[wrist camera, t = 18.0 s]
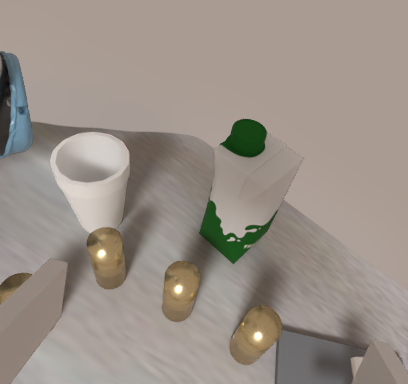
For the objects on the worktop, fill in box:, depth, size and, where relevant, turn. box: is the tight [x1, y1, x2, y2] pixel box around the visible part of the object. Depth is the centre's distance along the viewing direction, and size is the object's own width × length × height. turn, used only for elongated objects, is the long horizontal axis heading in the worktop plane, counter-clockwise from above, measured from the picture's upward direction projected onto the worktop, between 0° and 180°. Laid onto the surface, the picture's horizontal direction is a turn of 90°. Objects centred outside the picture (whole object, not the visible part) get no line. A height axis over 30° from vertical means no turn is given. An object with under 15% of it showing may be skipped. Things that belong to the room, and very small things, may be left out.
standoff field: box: [0, 227, 282, 365], centre depth 41 cm, size 12×30×9 cm, turn 79°
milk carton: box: [199, 119, 304, 264], centre depth 46 cm, size 9×9×20 cm
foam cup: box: [50, 132, 130, 233], centre depth 47 cm, size 10×9×13 cm
